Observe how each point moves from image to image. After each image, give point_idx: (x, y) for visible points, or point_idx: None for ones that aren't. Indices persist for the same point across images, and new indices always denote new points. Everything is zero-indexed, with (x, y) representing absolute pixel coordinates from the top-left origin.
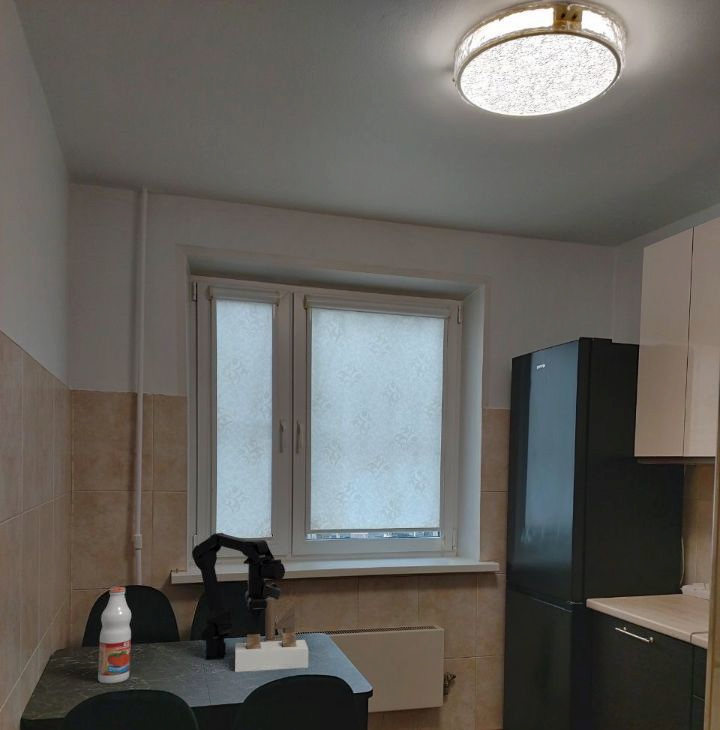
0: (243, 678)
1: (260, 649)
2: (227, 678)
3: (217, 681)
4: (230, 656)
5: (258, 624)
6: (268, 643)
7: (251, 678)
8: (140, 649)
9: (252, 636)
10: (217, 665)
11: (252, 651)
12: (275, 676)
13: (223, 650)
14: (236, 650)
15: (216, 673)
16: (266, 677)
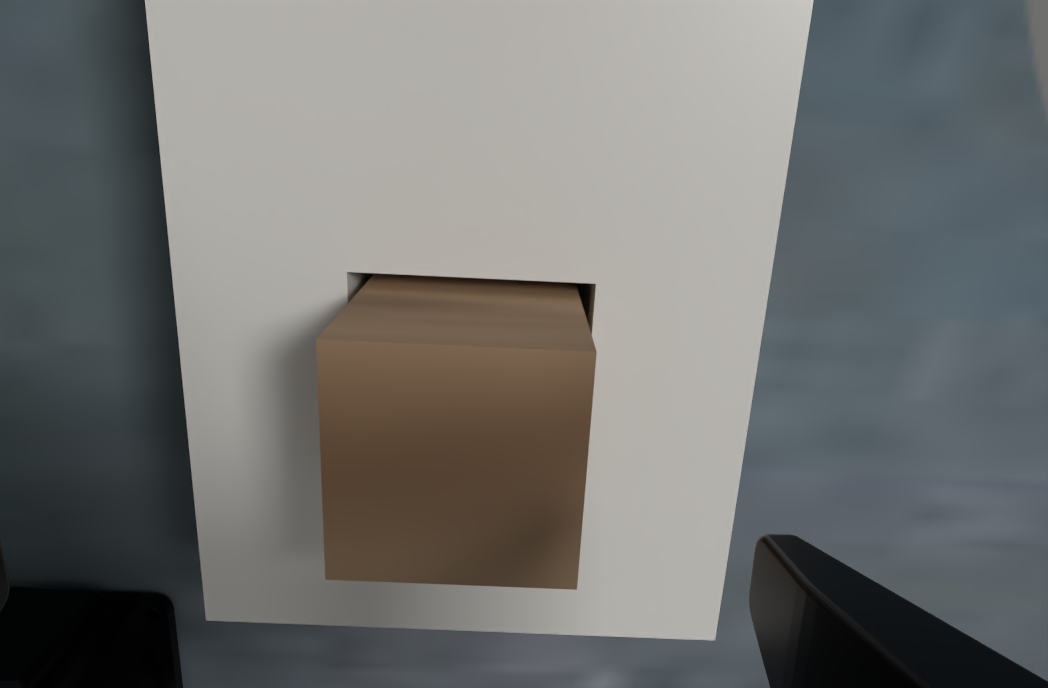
0: (911, 444)
1: (651, 300)
2: None
3: None
4: (73, 527)
5: (876, 592)
6: (296, 128)
7: (946, 368)
8: None
9: (476, 494)
10: (392, 651)
11: (729, 427)
12: (991, 96)
13: (85, 649)
14: (602, 625)
15: (655, 664)
16: (982, 207)
